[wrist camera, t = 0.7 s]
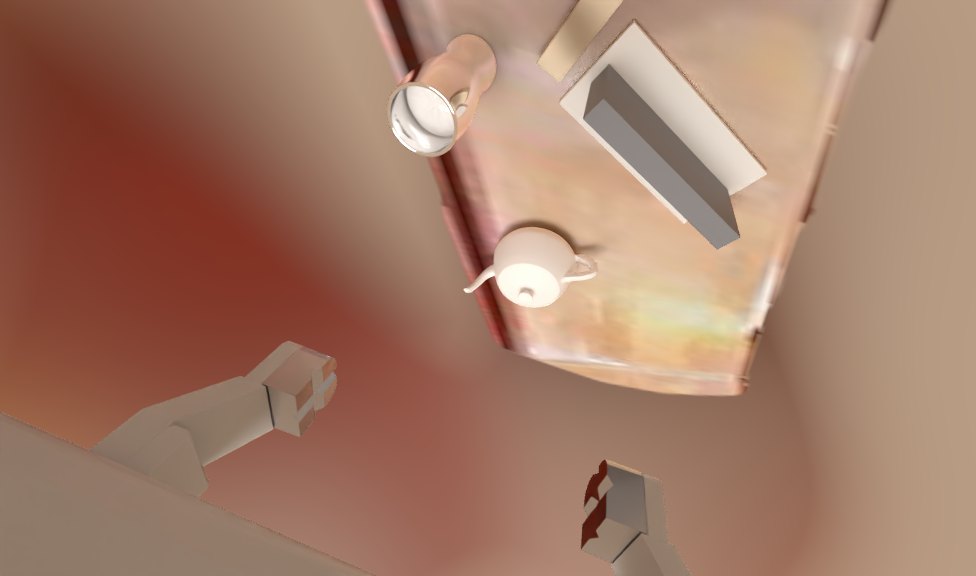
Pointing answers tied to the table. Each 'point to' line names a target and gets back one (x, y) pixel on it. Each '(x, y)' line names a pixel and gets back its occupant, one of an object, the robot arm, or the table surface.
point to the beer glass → (441, 96)
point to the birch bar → (575, 35)
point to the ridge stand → (664, 133)
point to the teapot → (534, 267)
